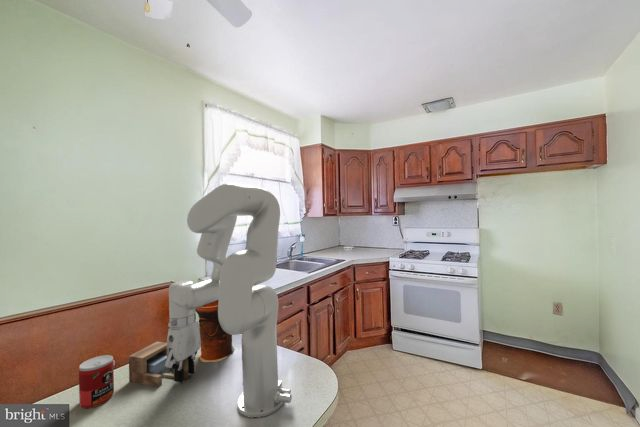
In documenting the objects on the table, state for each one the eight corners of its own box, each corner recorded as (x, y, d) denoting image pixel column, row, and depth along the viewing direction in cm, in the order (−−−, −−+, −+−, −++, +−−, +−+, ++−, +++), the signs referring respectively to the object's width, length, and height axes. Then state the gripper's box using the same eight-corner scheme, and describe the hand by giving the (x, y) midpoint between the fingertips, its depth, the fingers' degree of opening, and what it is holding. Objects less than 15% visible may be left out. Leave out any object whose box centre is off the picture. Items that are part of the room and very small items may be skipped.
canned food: (94, 410, 72) (93, 369, 72) (71, 407, 74) (70, 367, 74) (120, 392, 80) (120, 355, 80) (99, 390, 81) (98, 354, 82)
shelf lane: (184, 368, 91) (183, 344, 92) (158, 387, 81) (157, 360, 82) (157, 364, 95) (156, 341, 95) (129, 381, 85) (128, 356, 85)
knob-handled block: (194, 374, 88) (194, 355, 88) (180, 385, 82) (179, 365, 82) (156, 368, 92) (156, 351, 92) (140, 378, 86) (140, 360, 87)
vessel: (191, 352, 103) (191, 300, 104) (227, 341, 111) (227, 294, 112) (200, 367, 91) (199, 309, 92) (240, 354, 100) (239, 301, 101)
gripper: (170, 331, 77) (172, 395, 76) (210, 311, 93) (211, 364, 92) (150, 329, 79) (152, 392, 78) (192, 310, 95) (194, 362, 94)
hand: (184, 376), depth 85 cm, fingers open, 3 cm apart
